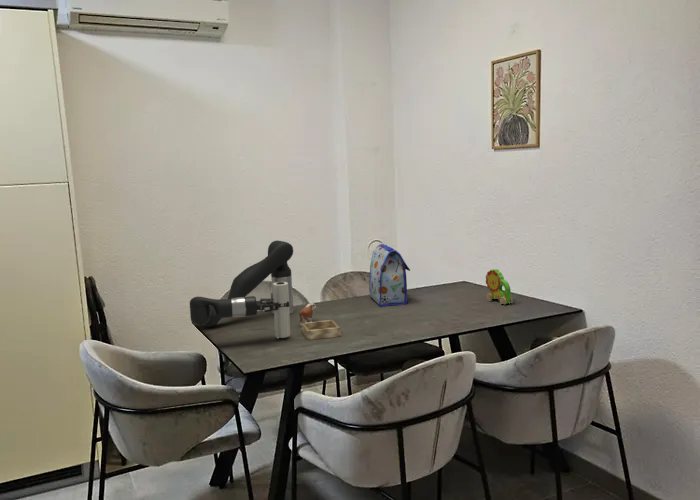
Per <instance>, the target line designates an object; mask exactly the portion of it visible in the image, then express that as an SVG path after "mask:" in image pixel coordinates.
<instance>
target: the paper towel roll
mask: <svg viewBox="0 0 700 500" xmlns="http://www.w3.org/2000/svg"><path fill="white" fill-rule="evenodd" d="M273 302H275V303H277V302H279V304H282V305H283V303H287V302H289V292H288V283H287V282H276V283H273ZM282 305H281V306H282ZM285 305H286V304H285ZM283 306H284V305H283ZM274 307H275V305H274ZM290 319H291V317H290V314H289V307H279V310H274V314H273V321H274V336H275V338H276V339H278V340H279V338H280V339H284V338H285V339H286V338H289V337H290V336H291V321H290Z"/></svg>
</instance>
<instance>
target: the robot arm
mask: <svg viewBox="0 0 700 500" xmlns="http://www.w3.org/2000/svg"><path fill="white" fill-rule="evenodd" d="M293 255H294V247H293V245H292V244H290V242H288V241H283V240H273V241H272V242H271V243H270V244H269V245H268V248H267V256H265V258H263V259H261V260H260V261H258V262H256V263H254V264H253V265H252V264H251V265H250V266H248V267H246V268H245V269H244V270H242V271H241V272H240V273H239V274H238V275H237V276H236V277H234V278H233V280H232V283H231V285H230V288H229V293H228V296H227V298H223V299H220V298H219V299H217V298H209V297H204V296H195V297H193V298H191V299H190V300H189V313H190V317H189V318H190V321H191V323H192V324H193V325H198V326H201V325H205V326H206V327H207V328H212V327H214V326H215V325H216V324H218V322H220V321H221V320H222V319H224V318H226V319H227V318H241V317H242V318H243V317H254V316H255V317H256V316H257V315H258V311H261V312H264V313H268V312H271V314H273V315H274V310H279V307H289V315H291V314H292V313H294V297H293V296H294V295H293V281H292V280H293V277H292V269H291V268H290V266H289V264H288V261H289V260H291V259H292V256H293ZM269 276H271V277H270V278H271V292H270V298H260V300H257V298H256V296H254V295H251V296H248V295H249V294H250V293H252V291H253V290H255V289H256V288H257V287H258V286H259V285H260V284H261V283H262V282H263V281H265V280H266V279H267V278H268V277H269ZM276 282H287V283H288V292H289V302H287V303H283V305H284V306H283V305H282V304H279V302H277V303H275V302H273V283H276ZM285 304H286V305H285ZM274 305H275V307H274ZM281 305H282V306H281Z"/></svg>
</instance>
